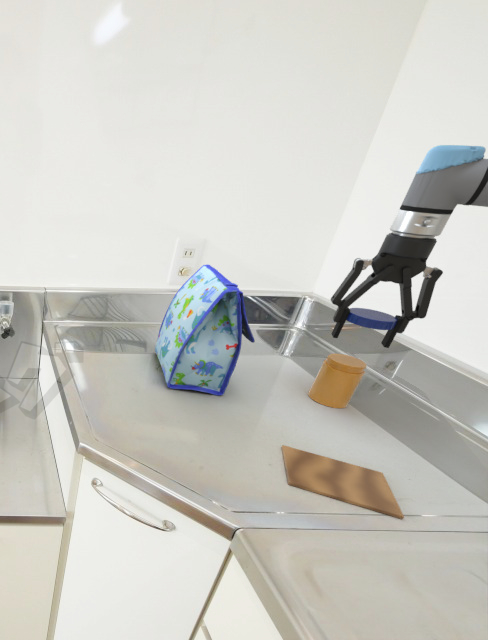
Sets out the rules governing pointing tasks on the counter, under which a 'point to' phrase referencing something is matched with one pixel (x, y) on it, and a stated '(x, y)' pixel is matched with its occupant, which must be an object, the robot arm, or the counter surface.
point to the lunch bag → (203, 333)
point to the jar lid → (371, 319)
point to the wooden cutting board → (340, 481)
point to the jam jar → (337, 380)
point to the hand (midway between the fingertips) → (359, 340)
